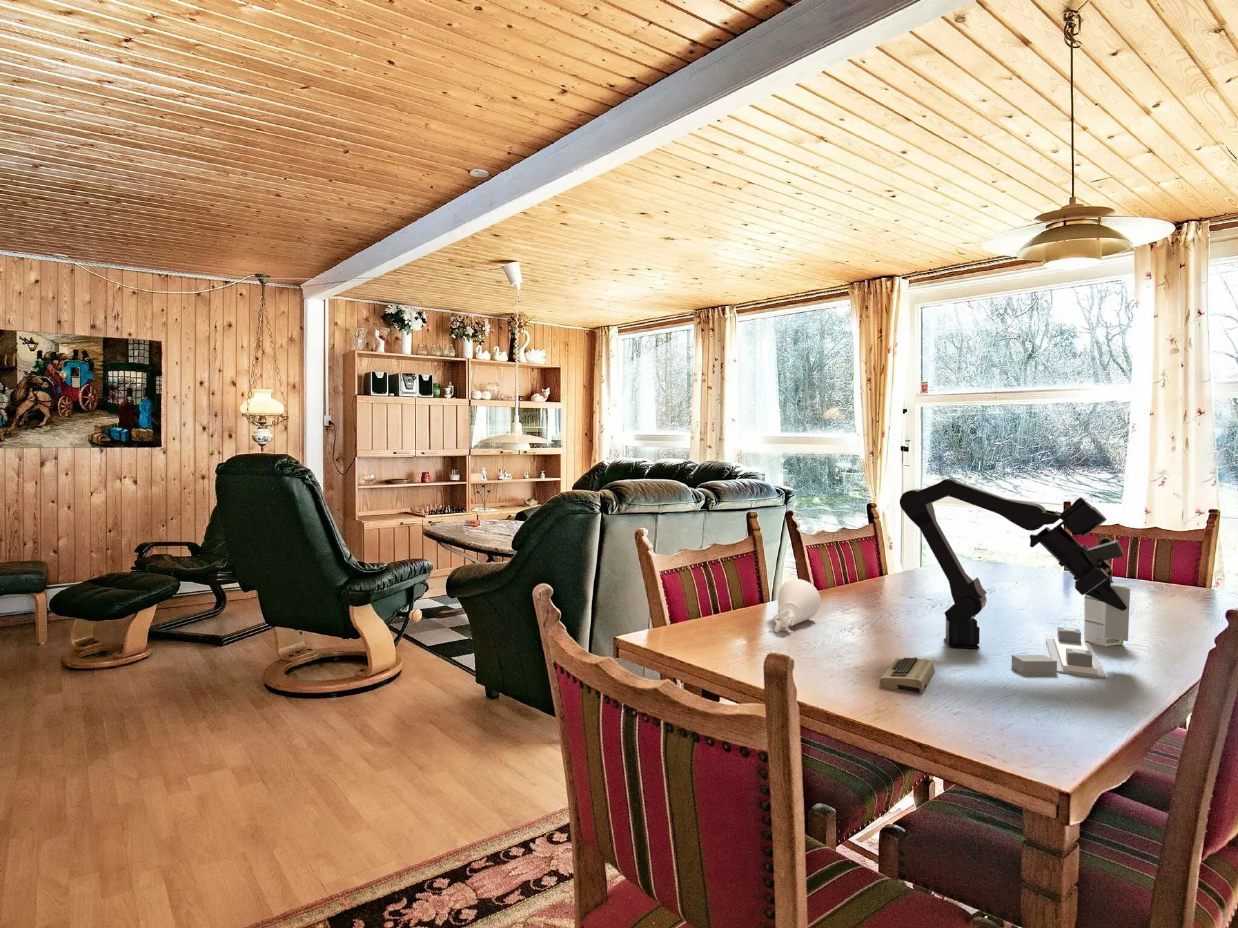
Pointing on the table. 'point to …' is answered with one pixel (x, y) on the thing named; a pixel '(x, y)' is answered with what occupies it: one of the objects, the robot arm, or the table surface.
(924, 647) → the table surface
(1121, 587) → the panel
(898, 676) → the computer
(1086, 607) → the syrup box
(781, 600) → the rocket engine
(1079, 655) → the module near
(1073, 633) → the module far
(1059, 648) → the rail
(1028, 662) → the block
